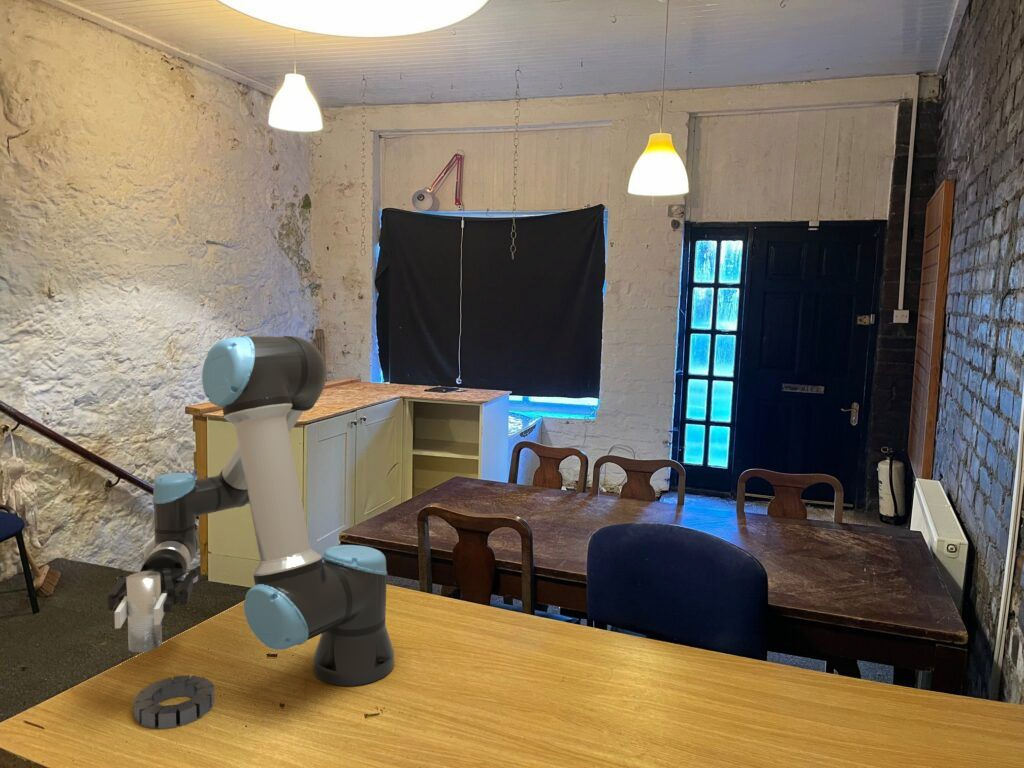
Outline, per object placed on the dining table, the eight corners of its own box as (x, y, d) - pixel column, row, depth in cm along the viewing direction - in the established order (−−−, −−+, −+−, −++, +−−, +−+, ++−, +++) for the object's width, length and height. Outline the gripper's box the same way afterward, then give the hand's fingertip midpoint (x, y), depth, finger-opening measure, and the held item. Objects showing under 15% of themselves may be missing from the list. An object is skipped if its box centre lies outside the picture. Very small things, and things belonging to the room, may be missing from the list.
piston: (164, 637, 122) (163, 569, 121) (158, 650, 118) (156, 580, 116) (132, 639, 121) (130, 572, 120) (125, 653, 116) (123, 583, 115)
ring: (218, 685, 128) (218, 672, 127) (207, 723, 116) (207, 709, 116) (145, 692, 125) (144, 679, 124) (126, 732, 113) (126, 717, 113)
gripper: (216, 582, 139) (198, 635, 116) (114, 589, 134) (74, 646, 112) (216, 545, 138) (197, 591, 116) (112, 551, 133) (72, 600, 111)
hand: (137, 618), depth 114 cm, fingers closed on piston, 5 cm apart
